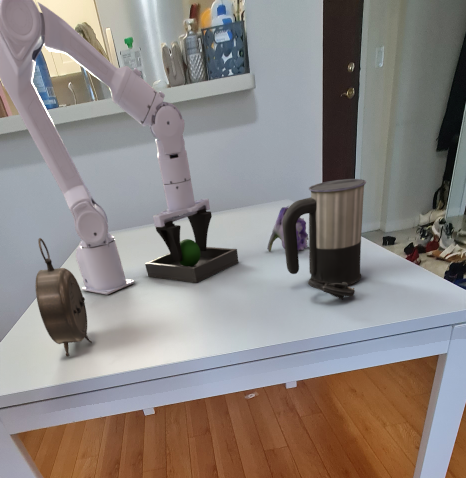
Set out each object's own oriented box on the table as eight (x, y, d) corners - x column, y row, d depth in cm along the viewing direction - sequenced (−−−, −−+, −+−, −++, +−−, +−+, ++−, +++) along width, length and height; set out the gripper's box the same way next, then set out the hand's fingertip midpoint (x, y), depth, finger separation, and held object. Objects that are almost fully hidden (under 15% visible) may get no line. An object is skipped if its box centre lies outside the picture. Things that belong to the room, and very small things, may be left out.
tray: (148, 276, 102) (144, 263, 101) (189, 258, 109) (187, 245, 107) (196, 283, 94) (194, 268, 92) (238, 262, 101) (237, 248, 99)
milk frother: (342, 268, 88) (344, 176, 78) (397, 287, 77) (407, 181, 67) (278, 288, 85) (271, 194, 75) (325, 310, 73) (325, 203, 63)
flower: (253, 224, 97) (294, 193, 94) (259, 233, 105) (297, 205, 101) (274, 265, 99) (315, 235, 95) (279, 270, 106) (317, 243, 103)
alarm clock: (70, 335, 81) (31, 233, 70) (99, 330, 81) (65, 227, 70) (57, 361, 73) (10, 250, 62) (89, 356, 73) (48, 244, 62)
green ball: (176, 271, 102) (166, 247, 98) (192, 259, 104) (182, 234, 100) (193, 272, 98) (183, 247, 95) (208, 259, 100) (199, 233, 96)
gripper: (163, 189, 85) (179, 267, 94) (215, 173, 92) (225, 247, 101) (139, 190, 89) (157, 265, 98) (191, 174, 96) (202, 245, 105)
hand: (190, 255), depth 100 cm, fingers open, 7 cm apart
